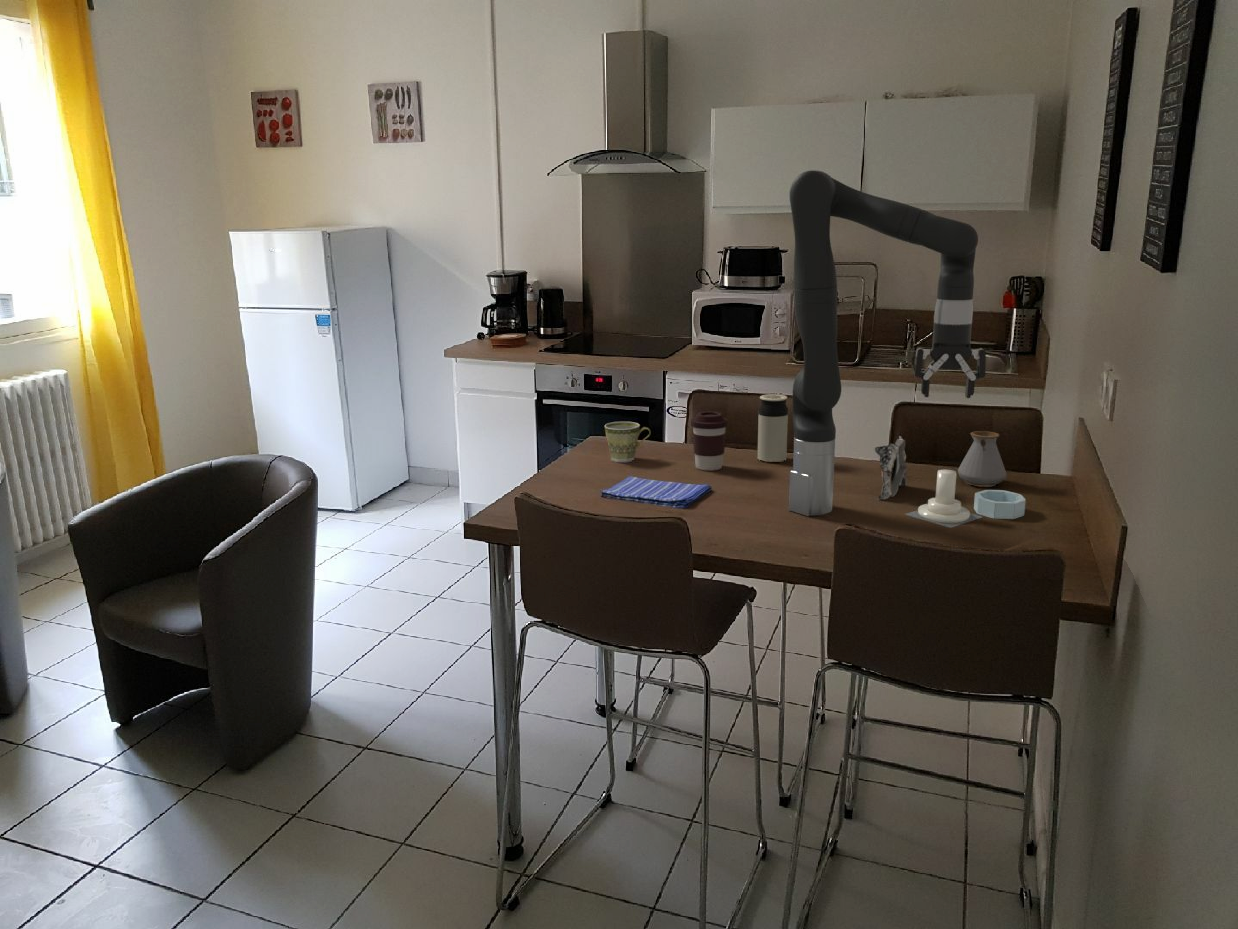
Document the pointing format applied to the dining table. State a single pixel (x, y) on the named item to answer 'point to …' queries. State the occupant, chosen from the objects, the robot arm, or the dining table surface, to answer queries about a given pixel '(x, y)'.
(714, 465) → the coffee cup
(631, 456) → the ceramic cup
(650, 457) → the dining table surface
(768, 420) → the travel mug
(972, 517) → the mat
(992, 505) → the bowl
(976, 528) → the dining table surface
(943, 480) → the lid
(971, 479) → the coffee pot
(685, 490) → the dish towel
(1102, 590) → the dining table surface
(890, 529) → the dining table surface
